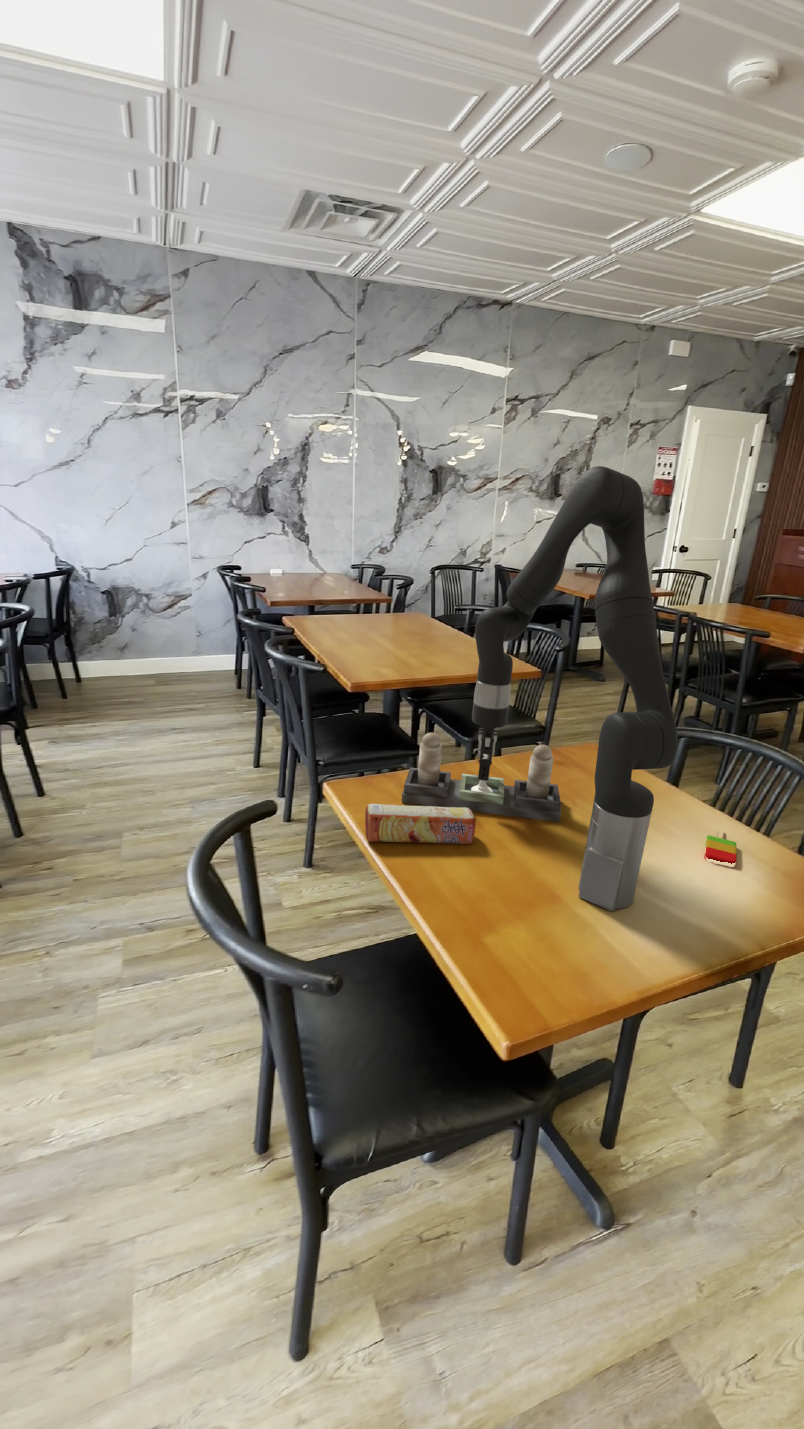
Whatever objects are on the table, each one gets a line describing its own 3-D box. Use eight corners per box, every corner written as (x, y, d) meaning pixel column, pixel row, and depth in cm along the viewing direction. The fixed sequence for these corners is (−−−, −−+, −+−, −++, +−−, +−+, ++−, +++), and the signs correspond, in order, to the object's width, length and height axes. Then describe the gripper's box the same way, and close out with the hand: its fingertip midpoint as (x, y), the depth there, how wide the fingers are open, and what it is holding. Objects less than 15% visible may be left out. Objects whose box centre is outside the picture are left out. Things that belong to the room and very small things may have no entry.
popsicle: (703, 862, 126) (705, 854, 126) (706, 830, 139) (708, 822, 139) (734, 871, 124) (737, 862, 124) (734, 837, 137) (736, 829, 136)
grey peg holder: (555, 799, 148) (565, 738, 143) (559, 822, 138) (570, 757, 133) (408, 781, 152) (412, 722, 147) (401, 802, 142) (405, 739, 137)
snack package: (469, 831, 132) (472, 801, 130) (474, 848, 126) (478, 817, 123) (364, 829, 130) (365, 798, 128) (364, 846, 124) (366, 814, 122)
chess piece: (476, 799, 141) (480, 756, 138) (466, 789, 145) (470, 748, 142) (496, 796, 143) (501, 755, 139) (486, 787, 147) (491, 746, 144)
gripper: (509, 714, 130) (500, 787, 135) (509, 693, 143) (500, 761, 149) (472, 710, 131) (464, 783, 136) (475, 690, 144) (468, 757, 150)
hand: (483, 771), depth 142 cm, fingers open, 8 cm apart
